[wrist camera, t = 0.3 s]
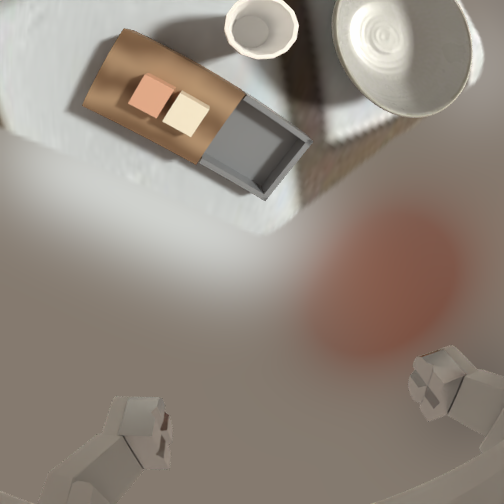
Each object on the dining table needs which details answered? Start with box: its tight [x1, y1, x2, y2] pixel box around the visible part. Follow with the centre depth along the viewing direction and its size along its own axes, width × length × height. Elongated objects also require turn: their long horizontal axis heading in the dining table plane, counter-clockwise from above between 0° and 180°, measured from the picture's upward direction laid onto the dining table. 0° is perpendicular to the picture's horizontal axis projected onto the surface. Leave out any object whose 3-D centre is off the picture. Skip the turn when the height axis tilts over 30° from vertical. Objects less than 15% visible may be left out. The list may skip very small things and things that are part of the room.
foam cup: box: [224, 0, 299, 59], centre depth 37 cm, size 10×9×13 cm
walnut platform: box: [82, 28, 245, 165], centre depth 44 cm, size 14×22×6 cm, turn 54°
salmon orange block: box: [128, 73, 176, 118], centre depth 40 cm, size 5×5×3 cm
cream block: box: [162, 91, 210, 137], centre depth 43 cm, size 5×5×3 cm
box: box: [199, 92, 313, 201], centre depth 53 cm, size 14×14×4 cm
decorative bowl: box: [332, 0, 473, 118], centre depth 38 cm, size 27×27×12 cm
